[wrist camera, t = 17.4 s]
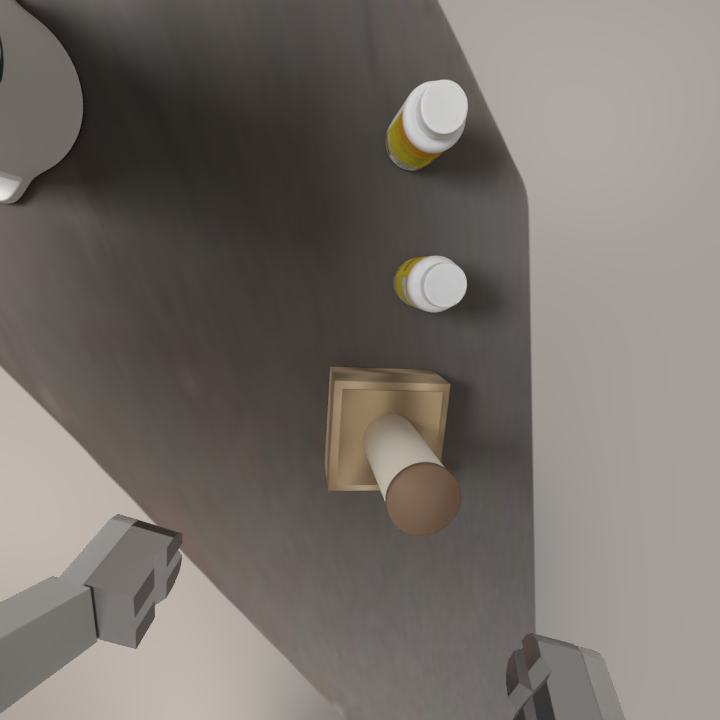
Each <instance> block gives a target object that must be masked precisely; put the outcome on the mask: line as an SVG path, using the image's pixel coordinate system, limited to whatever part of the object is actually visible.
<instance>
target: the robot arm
mask: <svg viewBox="0 0 720 720" xmlns="http://www.w3.org/2000/svg"><path fill="white" fill-rule="evenodd" d="M82 115H83V98H82V91H81V86H80V82H79V78H78V75H77V73H76V70H75V67H74V65H73V63H72V61H71V59H70V57H69V55H68V54H67V52H66V51H65V49H64V48H63V46H62V45H61V43H60V42H59V41H58V39H57V38H56V37H55V36H54V35H53V34H52V33H51V31H50V30H49V29H48V28H47V27H46V26H45V25H43V24H42V23H41V22H40V21H39V20H37V19H36V18H35V17H34V16H32V15H31V14H30V13H29V12H27V11H26V10H25V9H24V8H22V7H21V6H20V5H19V4H18V3H17V2H16V1H15V0H0V202H1V203H5V204H11V203H14V202H16V201H17V200H18V199H19V198H20V197H21V196H22V195H23V193H24V192H25V190H26V189H27V187H28V186H29V184H30V182H31V181H32V180H33V179H34V178H35V177H36V176H38V175H39V174H41V173H43V172H44V171H46V170H48V169H50V168H51V167H53V166H54V165H56V164H57V163H58V162H59V161H60V160H62V159H63V158H64V157H65V155H66V154H67V153H68V152H69V150H70V149H71V148H72V146H73V144H74V142H75V140H76V138H77V136H78V133H79V130H80V127H81V122H82ZM181 544H182V533H180V532H176V531H173V530H169V529H166V528H163V527H159V526H156V525H153V524H149V523H146V522H143V521H140V520H137V519H133V518H130V517H126V516H123V515H119V514H117V515H116V516H114V517H113V518H111V519H110V520H109V521H108V522H107V523H106V524H105V526H104V527H103V528H102V529H101V530H100V531H99V533H98V534H97V535H96V536H95V537H94V538H93V539H92V540H91V542H90V543H89V544H88V545H87V546H86V547H85V549H84V550H83V551H82V552H81V553H80V554H79V556H77V558H76V559H75V560H74V561H73V562H72V563H71V564H70V566H69V567H68V568H67V569H66V570H65V572H64V573H63V574H62V575H61V576H60V577H59V578H57V577H53V576H52V577H50V578H48V579H46V580H44V581H42V582H40V583H38V584H36V585H34V586H32V587H30V588H28V589H26V590H24V591H23V592H20V593H18V594H16V595H14V596H12V597H10V598H8V599H6V600H5V601H2V602H0V713H2V712H3V711H4V710H6V709H7V708H8V707H10V706H11V705H12V704H14V703H15V702H16V701H18V700H19V699H20V698H22V697H23V696H24V695H26V694H27V693H28V692H30V691H31V690H33V689H34V688H35V687H36V686H38V685H39V684H41V683H42V682H43V681H45V680H46V679H47V678H49V677H50V676H51V675H53V674H54V673H55V672H57V671H58V670H59V669H61V668H62V667H63V666H65V665H66V664H68V663H69V662H70V661H72V660H73V659H74V658H76V657H77V656H78V655H80V654H81V653H82V652H84V651H85V650H87V649H88V648H89V647H91V646H92V645H93V644H95V643H96V642H97V639H100V640H104V641H108V642H112V643H115V644H119V645H123V646H127V647H131V648H135V649H136V648H137V647H138V645H139V643H140V642H141V640H142V638H143V637H144V635H145V633H146V631H147V630H148V628H149V626H150V625H151V623H152V621H153V620H154V618H155V605H156V604H157V603H159V602H160V601H162V600H164V599H165V598H166V597H167V596H168V594H169V592H170V590H171V589H172V587H173V585H174V583H175V580H176V578H177V575H178V573H179V570H180V566H181V560H182V555H181V554H180V552H179V551H178V549H179V547H180V546H181ZM522 644H523V648H522V649H519V650H516V651H514V652H513V653H512V655H511V657H510V658H509V660H508V664H507V669H506V688H507V695H508V699H509V700H510V702H511V704H512V705H513V707H514V708H515V710H516V714H515V716H514V718H513V720H626V719H625V717H624V714H623V711H622V708H621V706H620V703H619V700H618V697H617V694H616V691H615V688H614V686H613V683H612V680H611V677H610V674H609V672H608V669H607V666H606V663H605V661H604V659H603V657H602V656H601V654H600V653H598V652H596V651H594V650H590V649H586V648H583V647H579V646H575V645H573V644H571V643H567V642H563V641H560V640H556V639H552V638H548V637H544V636H541V635H537V634H533V633H530V634H526V636H525V637H524V638H523V640H522Z"/></svg>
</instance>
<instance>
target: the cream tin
mask: <svg viewBox="0 0 720 720" xmlns="http://www.w3.org/2000/svg"><path fill="white" fill-rule="evenodd" d="M363 447H364V450H365V453H366V455H367V458H368V460H369V463H370V465H371V468H372V470H373V473H374V475H375V478H376V480H377V483H378V485H379V488H380V490H381V493H382V495H383V498H384V500H385V503H386V508H387V511H388V514H389V516H390V519H391V521H392V522H393V524H394V525H395V526H396V527H397V528H398V529H399V530H401V531H403V532H404V533H407V534H410V535H415V536H424V535H429V534H433V533H436V532H438V531H440V530H441V529H443V528H444V527H446V526H447V525H448V524H449V523H450V522H451V521H452V520H453V518H454V517H455V515H456V514H457V512H458V510H459V506H460V502H461V491H460V487H459V485H458V483H457V481H456V480H455V478H454V477H453V476H452V474H451V473H450V472H449V471H448V470H447V469H446V468H445V467H444V466H443V465H442V463H441V462H440V461H439V459H438V458H437V457H436V456H435V454H434V453H433V452H432V450H431V449H430V448H429V446H428V445H427V444H426V442H425V441H424V440H423V439H422V437H421V436H420V435H419V433H418V432H417V431H416V429H415V428H414V427H413V425H412V424H411V423H410V422H409V421H408V420H407V419H406V418H404V417H402V416H399V415H395V414H388V415H383V416H380V417H378V418H377V419H375V420H374V421H372V422H371V423H370V424H369V426H368V427H367V429H366V430H365V433H364V436H363Z"/></svg>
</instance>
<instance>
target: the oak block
mask: <svg viewBox="0 0 720 720" xmlns="http://www.w3.org/2000/svg"><path fill="white" fill-rule="evenodd" d="M449 392H450V383H448V382H447V381H446V380H445V379H443V378H442V377H441V376H439V375H438V374H437V373H435V372H434V371H433V370H417V369H389V368H360V367H331V366H330V379H329V396H328V414H327V431H326V449H325V471H326V478H327V485H328V491H366V490H380V488H379V485H378V483H377V480H376V478H375V475H374V473H373V470H372V468H371V465H370V463H369V460H368V458H367V455H366V453H365V450H364V447H363V436H364V433H365V430H366V429H367V427H368V426H369V424H370V423H371V422H372V421H374V420H375V419H377V418H378V417H380V416H383V415H388V414H395V415H399V416H402V417H404V418H406V419H407V420H408V421H409V422H410V423H411V424H412V425H413V427H414V428H415V429H416V431H417V432H418V433H419V435H420V436H421V437H422V439H423V440H424V441H425V442H426V444H427V445H428V446H429V448H430V449H431V450H432V452H433V453H434V454H435V456H436V457H437V458H438V459H439V461H440V462H441V458H442V450H443V442H444V434H445V425H446V417H447V409H448V401H449Z"/></svg>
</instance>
